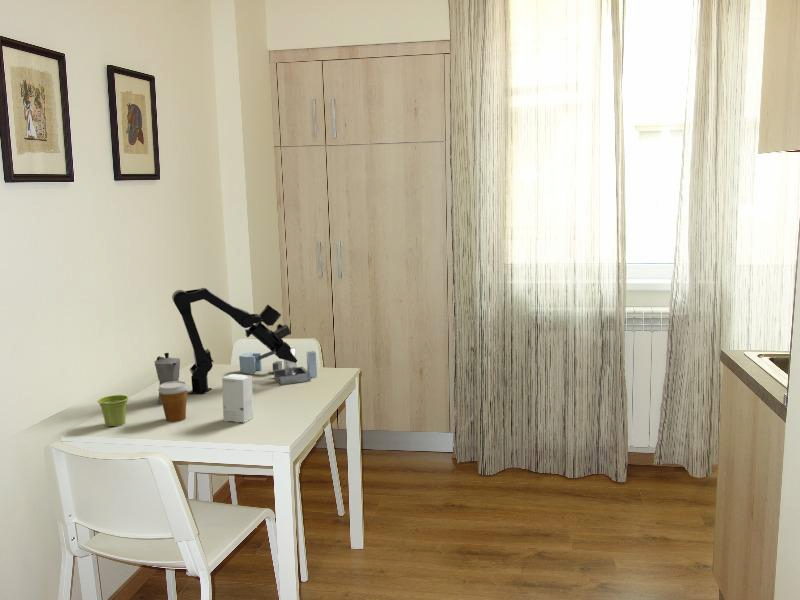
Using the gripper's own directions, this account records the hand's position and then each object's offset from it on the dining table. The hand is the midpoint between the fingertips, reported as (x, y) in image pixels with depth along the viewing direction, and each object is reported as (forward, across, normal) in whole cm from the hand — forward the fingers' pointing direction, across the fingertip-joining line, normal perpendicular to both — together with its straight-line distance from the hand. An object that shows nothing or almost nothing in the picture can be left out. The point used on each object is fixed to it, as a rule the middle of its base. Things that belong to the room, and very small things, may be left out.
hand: (293, 359), depth 289 cm
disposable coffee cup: (-28, -31, +40) cm, 58 cm away
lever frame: (-1, +18, +13) cm, 22 cm away
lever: (-3, +15, +5) cm, 16 cm away
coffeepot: (-28, -6, +40) cm, 49 cm away
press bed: (+6, 0, +5) cm, 8 cm away
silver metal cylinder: (+4, 0, +6) cm, 8 cm away
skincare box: (-15, -42, +26) cm, 51 cm away
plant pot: (-42, -26, +53) cm, 72 cm away
